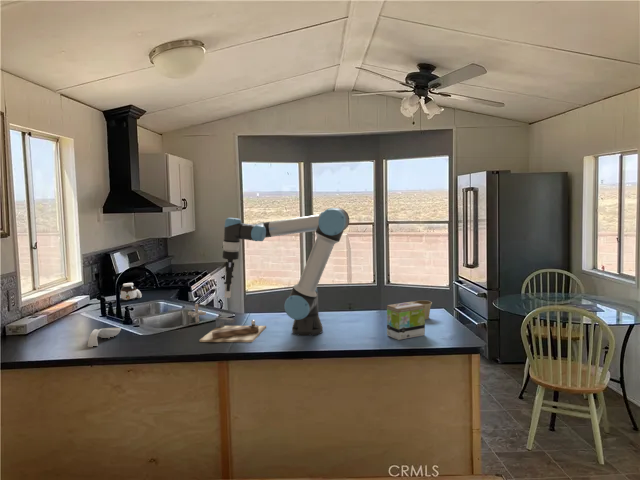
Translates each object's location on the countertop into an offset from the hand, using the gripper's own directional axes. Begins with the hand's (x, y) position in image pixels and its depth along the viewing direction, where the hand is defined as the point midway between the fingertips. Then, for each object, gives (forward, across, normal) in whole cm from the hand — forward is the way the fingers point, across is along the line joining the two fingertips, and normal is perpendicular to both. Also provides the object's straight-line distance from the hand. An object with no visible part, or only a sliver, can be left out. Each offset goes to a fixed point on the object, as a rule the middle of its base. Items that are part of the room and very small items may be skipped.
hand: (227, 294), depth 227 cm
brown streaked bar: (+20, 0, +5) cm, 20 cm away
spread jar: (+36, -120, -68) cm, 142 cm away
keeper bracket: (+21, -15, 0) cm, 26 cm away
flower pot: (+9, -6, +103) cm, 103 cm away
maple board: (+21, -5, +4) cm, 22 cm away
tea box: (+11, +22, +84) cm, 87 cm away
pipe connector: (+26, -36, -16) cm, 47 cm away
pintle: (+16, -2, +13) cm, 21 cm away
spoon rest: (+30, -15, -59) cm, 68 cm away
